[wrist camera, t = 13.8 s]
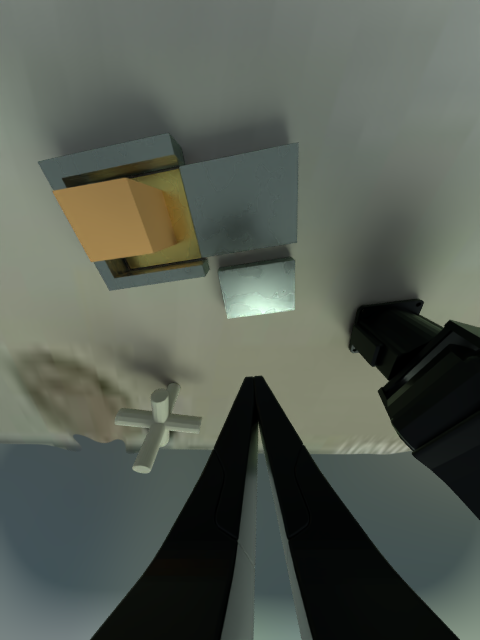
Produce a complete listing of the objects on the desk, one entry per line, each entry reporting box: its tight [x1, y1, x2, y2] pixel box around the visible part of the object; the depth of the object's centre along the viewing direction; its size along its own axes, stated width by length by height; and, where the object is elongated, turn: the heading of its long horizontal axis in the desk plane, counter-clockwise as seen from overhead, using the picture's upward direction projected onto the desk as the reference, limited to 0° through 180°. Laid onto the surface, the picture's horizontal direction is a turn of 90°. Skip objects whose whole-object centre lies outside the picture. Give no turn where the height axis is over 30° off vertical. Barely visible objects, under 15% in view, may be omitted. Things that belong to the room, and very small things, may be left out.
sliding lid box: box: [38, 133, 298, 291], centre depth 14 cm, size 17×9×2 cm, turn 99°
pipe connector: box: [115, 383, 202, 473], centre depth 22 cm, size 10×10×10 cm
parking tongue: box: [218, 257, 295, 318], centre depth 17 cm, size 7×5×2 cm
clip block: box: [52, 178, 177, 262], centre depth 13 cm, size 5×4×4 cm
